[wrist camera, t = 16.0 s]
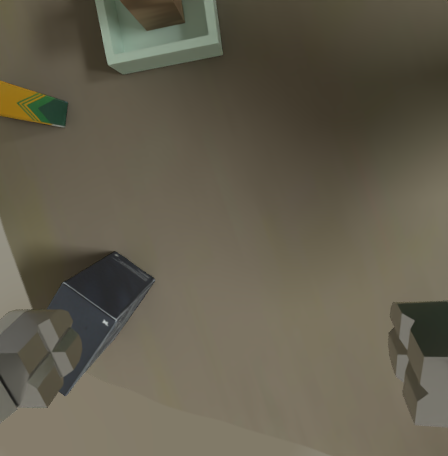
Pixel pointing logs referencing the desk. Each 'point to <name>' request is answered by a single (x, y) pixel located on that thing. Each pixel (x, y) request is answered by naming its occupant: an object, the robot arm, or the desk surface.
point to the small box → (100, 306)
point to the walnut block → (156, 12)
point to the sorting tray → (158, 37)
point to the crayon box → (31, 106)
